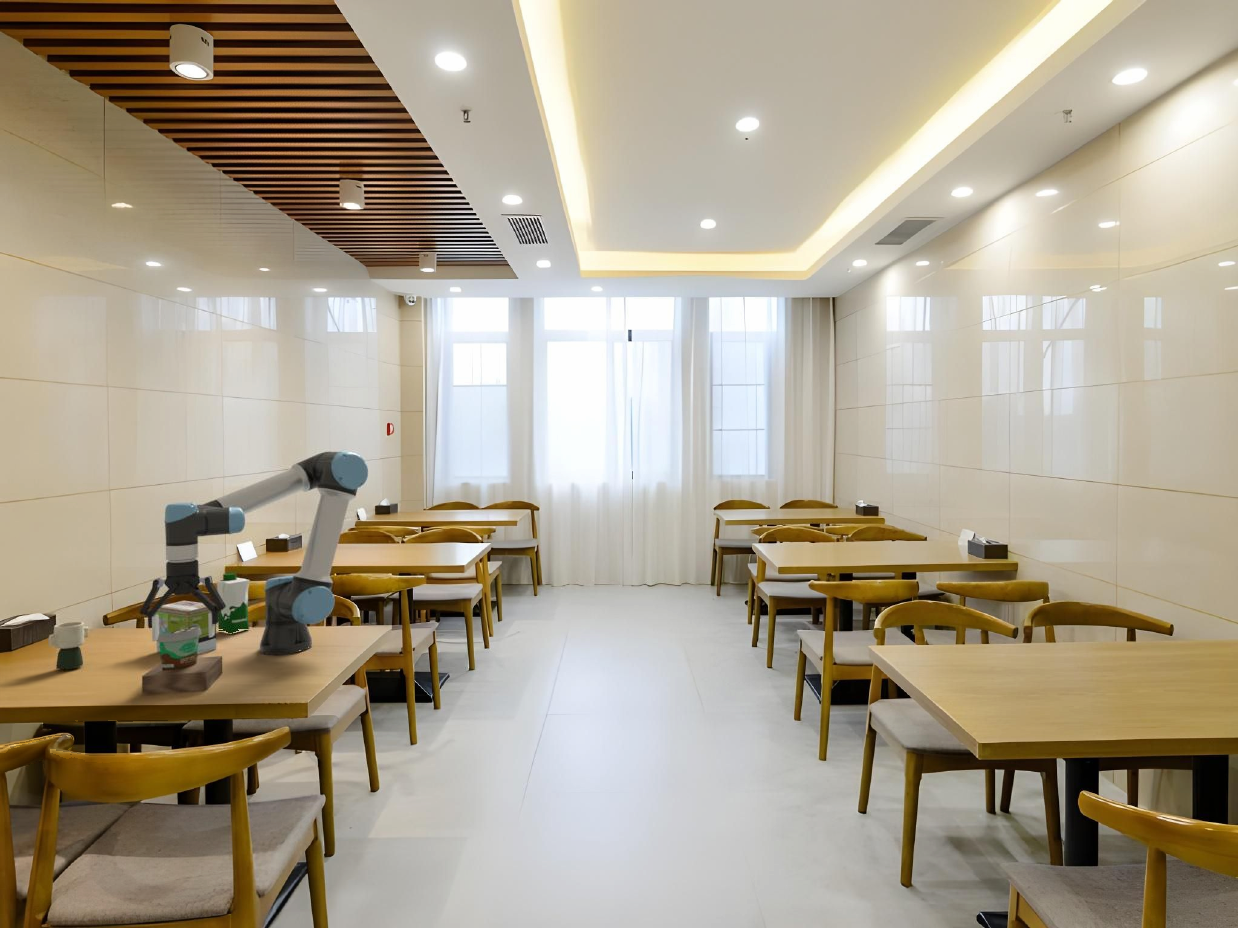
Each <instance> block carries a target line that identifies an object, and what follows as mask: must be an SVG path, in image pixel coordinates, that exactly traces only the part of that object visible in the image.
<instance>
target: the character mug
mask: <svg viewBox="0 0 1238 928" xmlns="http://www.w3.org/2000/svg"><path fill="white" fill-rule="evenodd" d="M89 630H90V629H89V627H88V625H87V626H85V622H83V621H70V622H62V623H58V624H55V625H54V626H53V633H52V634H49V635H48V645H49V647H53V646H54V647H55V648H56V649H59V650H58V653H57V660H56V667H55V668H56V670H59V669H60V670H63V669H64V670H63V671H66V670H69V669H72V670H73V669H77V668H81V667H83V665H84V660H83V659H84V658H83V653H82V649H81V647H80V646H83V645H85V639H87V638H89V634H90V633H89ZM65 669H66V670H65Z"/></svg>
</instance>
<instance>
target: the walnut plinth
mask: <svg viewBox="0 0 1238 928" xmlns="http://www.w3.org/2000/svg"><path fill="white" fill-rule="evenodd" d="M222 673H223V655H218V656H205V657H202V656H201V657H197V663H196V664H195V665H193V666H191V667H188V668H183V669H178V670H162V662H161V661H160V662H158V663H157V664H155V666H153V667H152V668H151V669H150V670H148V671H147V672H145V674H143V675H142V676H141V682H142V683H141V687H142V688H141V689H142V690H141V692H142V696H151V695H152V696H154V695H167V694H168V695H169V694H177V693H178V694H180V693H192V691H195V692H205V690H207V691H209V689H208V688H210V687H212V686H213V684H214V683H215V682H217V680H218V679H219V678H220V677H221V676H222ZM190 691H191V692H190Z"/></svg>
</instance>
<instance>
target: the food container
mask: <svg viewBox="0 0 1238 928" xmlns="http://www.w3.org/2000/svg"><path fill="white" fill-rule="evenodd" d="M199 635H201V629H200V627H199V625H197V624H191V627H189V628H187V629H183V630H176V631H174V632H172V633H170V634H159V636H158V641H157V640H156V643H157V642H159V643H160V652H159V653H160V662H162V670H178V669H183V668H188V667H191V666H193V665H195V664H196V663H197V658H198V655H197V651H198V638H199Z"/></svg>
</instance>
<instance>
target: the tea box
mask: <svg viewBox="0 0 1238 928" xmlns="http://www.w3.org/2000/svg"><path fill="white" fill-rule="evenodd" d="M210 612H211V611H210V610H209V609H208V608H207V607H206V606H205V605H204V604H203V603H202V602H196V601H188V600H181V601H180V600H179V601H177V602H172V603H168V604H163V605H162V606H161V608H160V609H159V610H158V611H157V612H156V614H155V615H159V634H170V633H172V632H174V631H176V630H183V629H187V628H189V627H191V624H197V625H199V627H200V629H201V635H199V638H198V651H197V656H199V655H202V654H205V653H209V652H211V651H214V650H216V649H217V624H215V635H214V636H213V637H209V622H208V614H209V613H210ZM157 641H158V640H156V652H159V653H160V643H159V642H157Z"/></svg>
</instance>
